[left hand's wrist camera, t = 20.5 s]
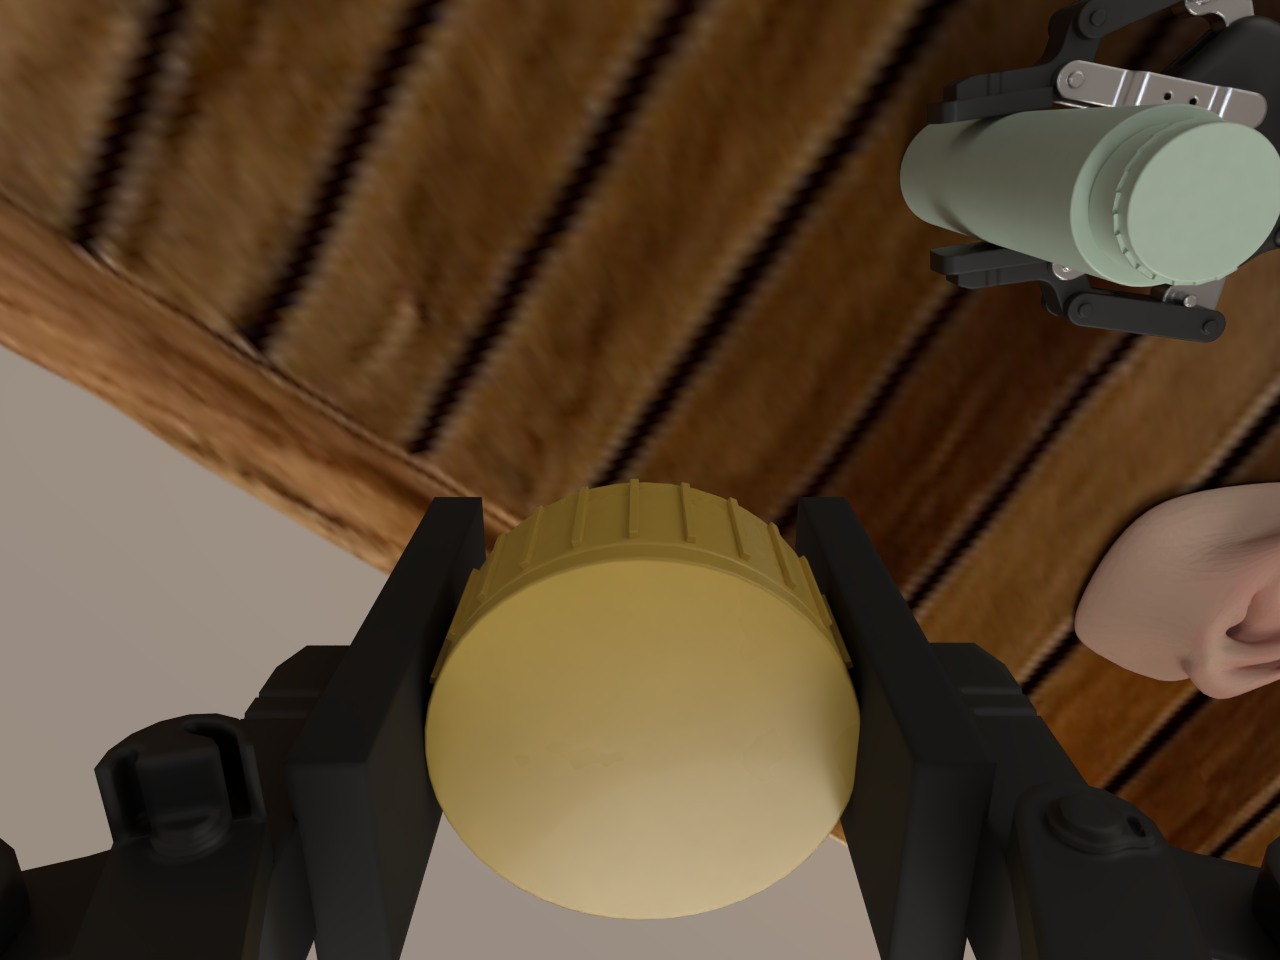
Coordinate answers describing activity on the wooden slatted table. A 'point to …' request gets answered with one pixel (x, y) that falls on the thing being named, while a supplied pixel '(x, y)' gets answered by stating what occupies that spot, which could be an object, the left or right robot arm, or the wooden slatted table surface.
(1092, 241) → the pale green cylindrical bottle
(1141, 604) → the anatomical model
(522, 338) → the wooden slatted table surface
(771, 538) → the lid
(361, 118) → the wooden slatted table surface
